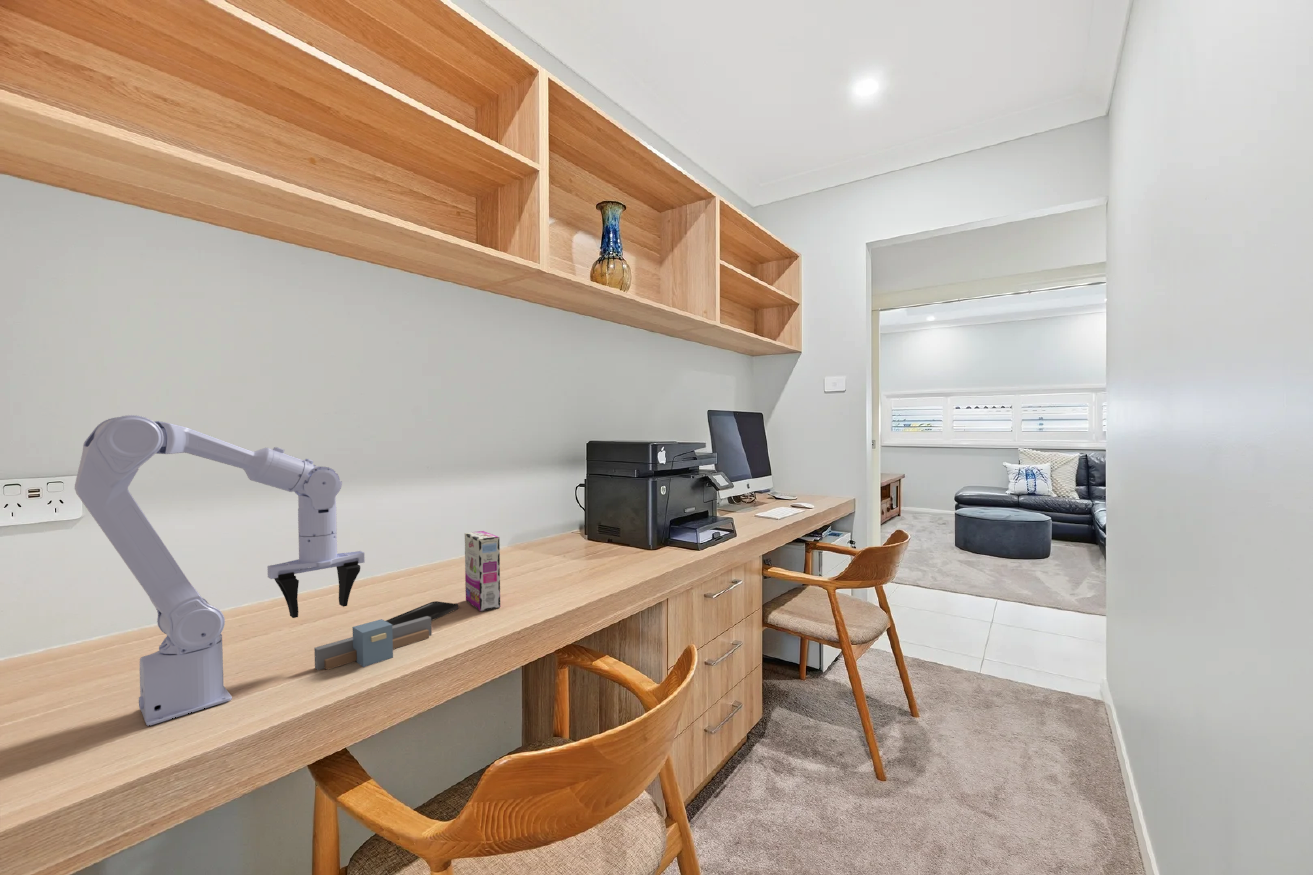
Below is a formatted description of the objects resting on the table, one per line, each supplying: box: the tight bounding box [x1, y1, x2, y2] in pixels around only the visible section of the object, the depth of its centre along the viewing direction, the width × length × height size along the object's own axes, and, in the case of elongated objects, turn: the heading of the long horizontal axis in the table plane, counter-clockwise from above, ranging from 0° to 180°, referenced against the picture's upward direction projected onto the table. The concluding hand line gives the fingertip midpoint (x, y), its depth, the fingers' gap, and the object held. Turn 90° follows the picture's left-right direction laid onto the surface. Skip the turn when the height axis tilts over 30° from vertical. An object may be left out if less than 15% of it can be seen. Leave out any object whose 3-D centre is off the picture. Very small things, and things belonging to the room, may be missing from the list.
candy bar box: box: [464, 530, 501, 612], centre depth 126 cm, size 11×5×16 cm, turn 37°
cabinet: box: [352, 619, 394, 668], centre depth 96 cm, size 5×5×6 cm
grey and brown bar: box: [313, 616, 433, 671], centre depth 99 cm, size 20×3×4 cm, turn 139°
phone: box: [385, 601, 459, 626], centre depth 118 cm, size 8×1×15 cm
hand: (319, 610), depth 95 cm, fingers open, 7 cm apart
